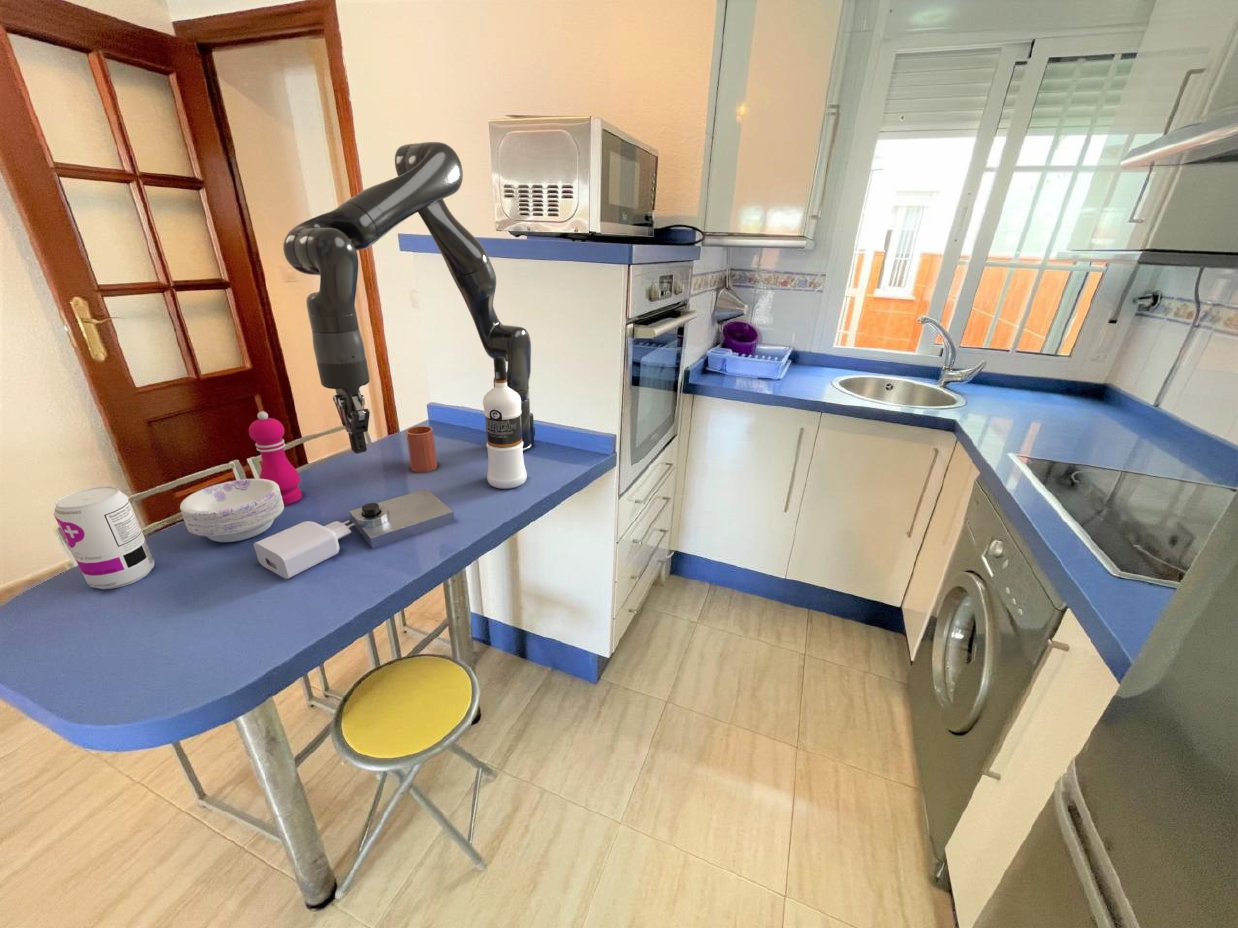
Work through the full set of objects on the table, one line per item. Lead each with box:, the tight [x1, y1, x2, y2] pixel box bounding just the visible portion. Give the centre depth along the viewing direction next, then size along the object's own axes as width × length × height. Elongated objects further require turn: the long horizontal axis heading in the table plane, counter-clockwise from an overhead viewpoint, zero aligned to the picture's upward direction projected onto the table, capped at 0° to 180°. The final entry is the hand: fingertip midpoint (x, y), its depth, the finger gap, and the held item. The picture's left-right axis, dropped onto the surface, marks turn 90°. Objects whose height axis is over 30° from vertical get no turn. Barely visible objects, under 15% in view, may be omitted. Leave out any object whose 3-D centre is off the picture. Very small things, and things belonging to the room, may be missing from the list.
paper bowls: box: [179, 478, 285, 543], centre depth 96 cm, size 15×15×8 cm
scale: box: [348, 488, 455, 550], centre depth 101 cm, size 16×13×4 cm
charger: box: [253, 519, 355, 580], centre depth 91 cm, size 5×9×15 cm
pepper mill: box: [248, 411, 303, 506], centre depth 105 cm, size 7×7×20 cm
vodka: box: [482, 357, 528, 490], centre depth 114 cm, size 9×9×30 cm
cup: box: [405, 425, 438, 473], centre depth 124 cm, size 6×6×10 cm
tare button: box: [361, 502, 380, 518], centre depth 97 cm, size 3×3×2 cm
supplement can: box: [53, 485, 155, 590], centre depth 80 cm, size 8×8×15 cm
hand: (359, 451), depth 92 cm, fingers closed
